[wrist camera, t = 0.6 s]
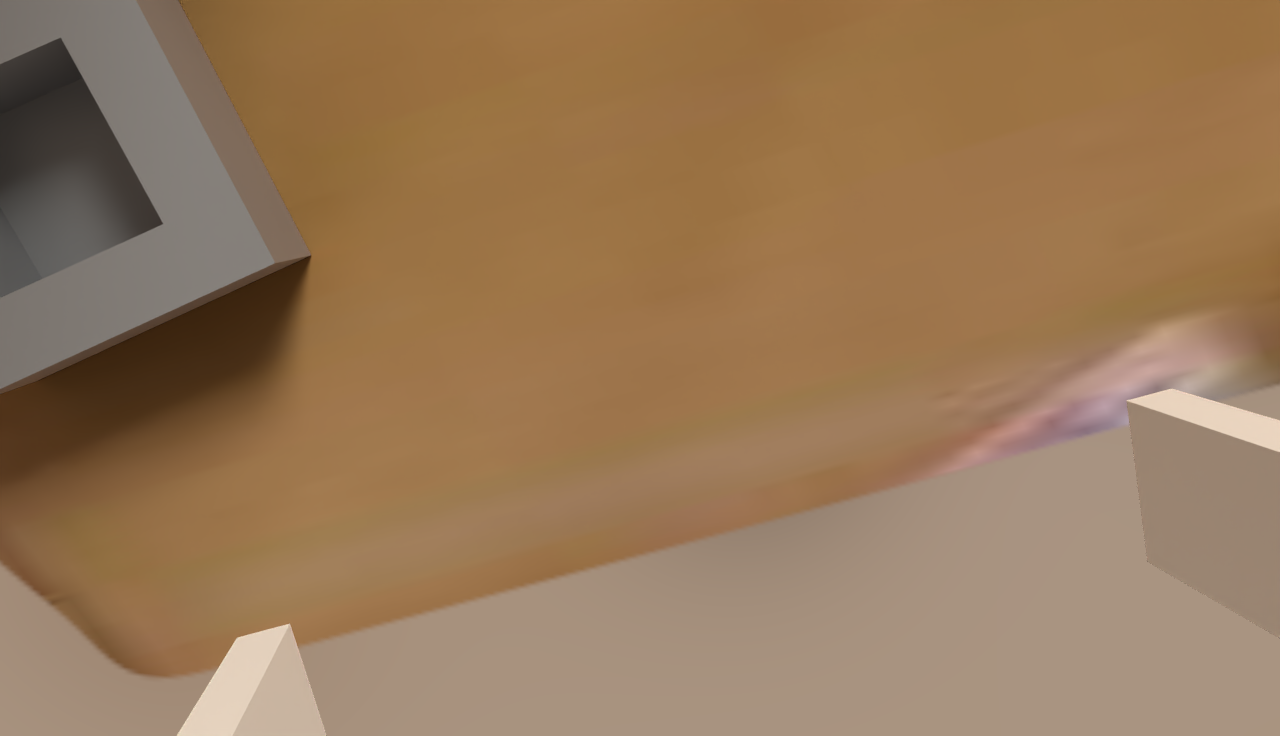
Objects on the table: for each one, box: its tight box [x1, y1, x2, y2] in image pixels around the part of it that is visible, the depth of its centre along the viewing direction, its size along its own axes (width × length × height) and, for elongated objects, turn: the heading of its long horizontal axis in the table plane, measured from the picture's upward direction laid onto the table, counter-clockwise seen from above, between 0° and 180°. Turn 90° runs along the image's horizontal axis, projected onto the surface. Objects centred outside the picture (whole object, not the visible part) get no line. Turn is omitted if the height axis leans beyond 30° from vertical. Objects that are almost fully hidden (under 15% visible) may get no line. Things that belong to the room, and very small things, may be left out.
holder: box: [0, 0, 311, 394], centre depth 35 cm, size 12×12×6 cm
